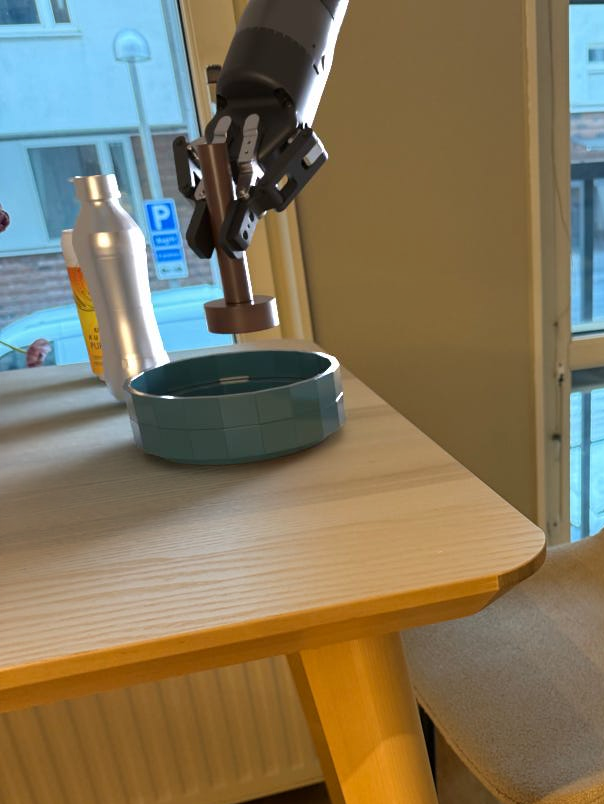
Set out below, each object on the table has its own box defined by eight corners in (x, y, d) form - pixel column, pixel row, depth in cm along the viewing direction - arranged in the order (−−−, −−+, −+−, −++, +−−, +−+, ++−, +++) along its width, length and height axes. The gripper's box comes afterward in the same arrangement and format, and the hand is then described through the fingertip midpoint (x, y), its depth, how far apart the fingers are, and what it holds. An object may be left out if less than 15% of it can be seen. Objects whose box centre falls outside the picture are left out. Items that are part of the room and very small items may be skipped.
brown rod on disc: (198, 335, 72) (161, 146, 66) (220, 322, 77) (187, 145, 71) (269, 332, 72) (238, 141, 65) (286, 319, 76) (258, 140, 70)
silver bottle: (176, 389, 95) (131, 172, 86) (179, 404, 90) (131, 174, 80) (111, 397, 94) (57, 177, 84) (109, 413, 88) (52, 179, 78)
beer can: (96, 385, 99) (58, 233, 92) (92, 374, 104) (56, 229, 97) (154, 377, 101) (121, 227, 94) (148, 367, 106) (117, 224, 99)
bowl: (104, 473, 72) (86, 402, 69) (179, 413, 87) (167, 353, 84) (324, 466, 70) (314, 393, 68) (361, 407, 85) (354, 345, 83)
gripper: (179, 32, 73) (108, 219, 69) (331, 14, 68) (263, 214, 64) (232, 109, 79) (170, 283, 76) (374, 98, 74) (315, 284, 71)
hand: (213, 251), depth 70 cm, fingers closed on brown rod on disc
